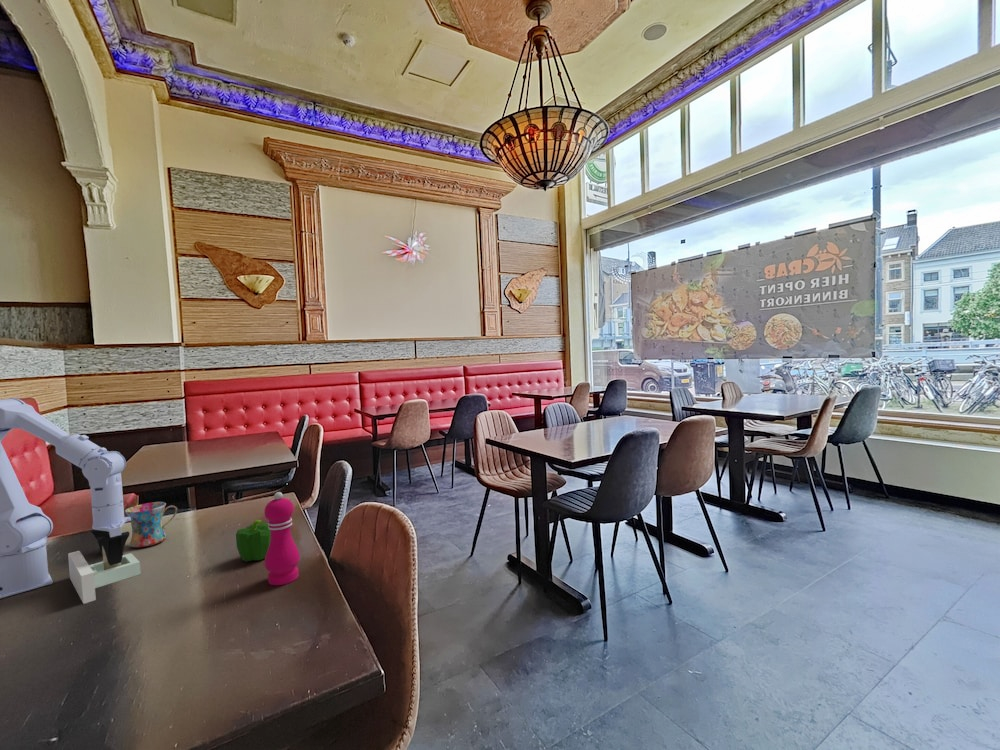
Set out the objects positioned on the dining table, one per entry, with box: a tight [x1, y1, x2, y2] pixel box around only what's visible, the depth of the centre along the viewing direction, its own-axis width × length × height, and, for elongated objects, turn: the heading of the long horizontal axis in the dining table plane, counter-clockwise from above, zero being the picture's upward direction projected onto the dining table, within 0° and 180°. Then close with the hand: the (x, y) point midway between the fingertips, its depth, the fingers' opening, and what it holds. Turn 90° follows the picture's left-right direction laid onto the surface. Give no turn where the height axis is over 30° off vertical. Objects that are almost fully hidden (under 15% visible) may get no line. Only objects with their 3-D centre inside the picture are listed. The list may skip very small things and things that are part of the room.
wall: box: [67, 550, 97, 605], centre depth 104 cm, size 2×20×6 cm, turn 49°
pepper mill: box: [264, 491, 301, 586], centre depth 104 cm, size 7×7×20 cm
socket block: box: [88, 552, 142, 589], centre depth 110 cm, size 9×9×3 cm
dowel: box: [102, 546, 121, 570], centre depth 110 cm, size 3×3×8 cm
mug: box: [124, 501, 178, 549], centre depth 132 cm, size 12×9×11 cm
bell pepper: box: [235, 519, 271, 563], centre depth 117 cm, size 8×8×10 cm
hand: (111, 559), depth 110 cm, fingers open, 7 cm apart
